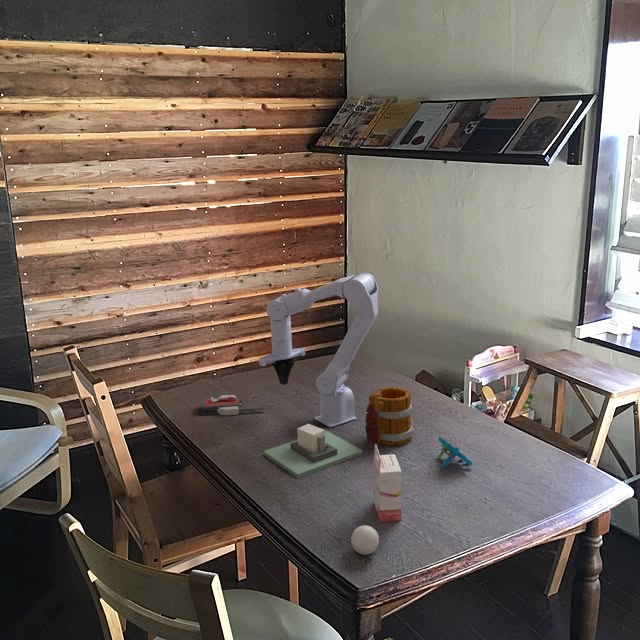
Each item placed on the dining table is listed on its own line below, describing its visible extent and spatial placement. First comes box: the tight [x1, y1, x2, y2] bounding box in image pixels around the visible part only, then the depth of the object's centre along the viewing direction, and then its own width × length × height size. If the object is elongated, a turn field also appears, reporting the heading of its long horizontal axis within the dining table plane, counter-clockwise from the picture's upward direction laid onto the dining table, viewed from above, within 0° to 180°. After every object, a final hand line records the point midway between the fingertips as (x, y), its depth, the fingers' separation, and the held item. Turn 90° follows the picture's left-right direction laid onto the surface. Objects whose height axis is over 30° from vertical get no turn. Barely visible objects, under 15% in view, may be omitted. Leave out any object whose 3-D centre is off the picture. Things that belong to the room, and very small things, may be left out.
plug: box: [296, 423, 326, 454], centre depth 185 cm, size 4×9×6 cm, turn 45°
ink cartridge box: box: [373, 444, 402, 523], centre depth 156 cm, size 9×5×15 cm, turn 5°
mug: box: [364, 386, 415, 447], centre depth 190 cm, size 11×16×15 cm, turn 137°
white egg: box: [350, 524, 381, 556], centre depth 144 cm, size 8×6×6 cm
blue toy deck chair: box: [436, 437, 473, 469], centre depth 177 cm, size 11×6×10 cm
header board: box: [262, 429, 363, 479], centre depth 186 cm, size 20×16×2 cm
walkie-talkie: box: [196, 394, 266, 417], centre depth 216 cm, size 9×4×20 cm
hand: (283, 383), depth 210 cm, fingers closed
